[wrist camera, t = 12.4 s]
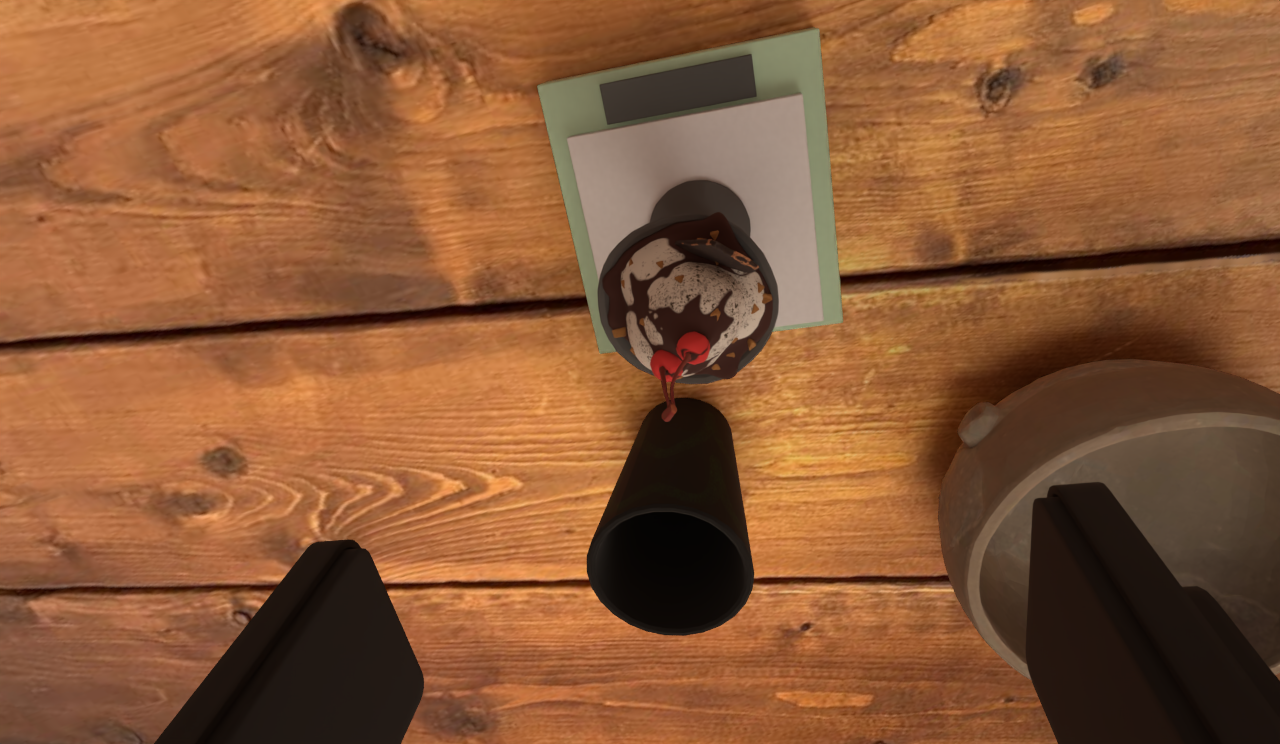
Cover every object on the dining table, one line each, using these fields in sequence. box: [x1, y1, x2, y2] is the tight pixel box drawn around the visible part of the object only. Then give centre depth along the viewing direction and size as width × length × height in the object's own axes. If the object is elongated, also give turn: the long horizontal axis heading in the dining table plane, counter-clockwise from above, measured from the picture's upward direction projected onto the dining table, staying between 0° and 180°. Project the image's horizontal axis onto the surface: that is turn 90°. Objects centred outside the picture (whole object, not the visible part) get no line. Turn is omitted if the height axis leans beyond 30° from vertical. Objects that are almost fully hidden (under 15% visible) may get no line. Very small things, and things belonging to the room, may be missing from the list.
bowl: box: [938, 359, 1280, 680], centre depth 37 cm, size 17×18×10 cm
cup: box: [587, 398, 754, 636], centre depth 39 cm, size 8×8×12 cm
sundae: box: [597, 180, 779, 422], centre depth 29 cm, size 7×7×15 cm
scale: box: [537, 27, 843, 354], centre depth 37 cm, size 14×13×3 cm
